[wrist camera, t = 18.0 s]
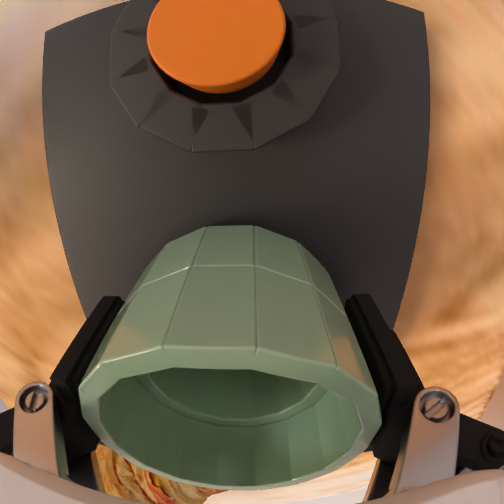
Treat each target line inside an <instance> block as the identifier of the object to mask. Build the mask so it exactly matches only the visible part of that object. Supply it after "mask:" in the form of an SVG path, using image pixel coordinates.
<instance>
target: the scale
mask: <svg viewBox="0 0 504 504" xmlns="http://www.w3.org/2000/svg"><path fill="white" fill-rule="evenodd" d="M159 1H160V0H130V1H127V2H124V3H120V4H117V5H113V6H110V7H107V8H104V9H101V10H98V11H95V12H92V13H89V14H86V15H84V16H81V17H79V18H76V19H73V20H71V21H69V22H66V23H64V24H61V25H59V26H57V27H55V28H53V29H50V30H48V31H46V32H45V41H44V54H43V77H42V101H43V125H44V138H45V149H46V158H47V166H48V173H49V180H50V186H51V192H52V198H53V203H54V208H55V213H56V218H57V222H58V227H59V231H60V235H61V239H62V243H63V247H64V251H65V255H66V258H67V262H68V265H69V269H70V272H71V275H72V278H73V282H74V285H75V288H76V291H77V294H78V297H79V300H80V302H81V305H82V308H83V311H84V314H85V316H86V319H88V317H89V316H90V314H91V313H92V311H93V310H94V308H95V307H96V306H97V304H98V303H99V301H100V300H101V299H102V297H103V296H119V297H121V299H122V300H124V301H125V300H126V299H127V297H128V295H129V294H130V292H131V291H132V289H133V287H134V286H135V284H136V282H137V281H138V279H139V277H140V276H141V274H142V273H143V271H144V270H145V269H146V267H147V266H148V265H149V264H150V263H151V261H152V260H153V259H154V258H155V257H156V255H157V254H158V253H159V252H160V251H161V250H162V248H163V247H164V246H165V245H167V244H168V243H169V242H171V241H174V240H176V239H178V238H180V237H182V236H185V235H187V234H189V233H191V232H194V231H196V230H198V229H201V228H203V227H208V226H239V225H252V226H258V227H261V228H264V229H266V230H269V231H272V232H274V233H277V234H280V235H282V236H285V237H288V238H290V239H293V240H296V241H297V243H300V244H301V245H302V246H303V247H304V248H305V249H307V250H308V251H309V252H310V253H311V254H312V255H313V256H314V257H315V258H316V259H317V260H318V261H319V262H320V263H321V264H322V265H323V266H324V267H325V268H326V270H327V271H328V273H329V275H330V278H331V280H332V282H333V284H334V287H335V289H336V291H337V293H338V296H339V298H340V300H341V303H342V305H343V307H344V306H345V302H346V299H350V298H351V296H352V295H353V294H366V293H368V294H370V295H371V297H372V299H373V300H374V302H375V304H376V305H377V307H378V309H379V311H380V312H381V314H382V316H383V318H384V320H385V321H386V323H387V325H388V327H389V328H390V330H393V328H394V325H395V321H396V318H397V315H398V312H399V308H400V305H401V301H402V298H403V294H404V290H405V287H406V283H407V279H408V275H409V271H410V266H411V262H412V258H413V253H414V248H415V243H416V238H417V233H418V228H419V222H420V216H421V210H422V203H423V196H424V189H425V180H426V171H427V161H428V148H429V130H430V73H429V56H428V44H427V34H426V26H425V19H424V13H423V12H421V11H419V10H416V9H413V8H409V7H406V6H403V5H400V4H396V3H393V2H389V1H385V0H279V2H280V4H281V6H282V8H283V11H284V14H285V20H286V31H285V36H284V40H283V43H282V45H281V48H280V50H279V53H278V55H277V58H276V60H275V62H274V64H273V66H272V67H271V68H270V70H269V71H268V72H267V73H266V74H265V75H264V76H263V77H262V78H261V79H260V80H258V81H257V82H255V83H254V84H252V85H250V86H248V87H246V88H244V89H241V90H238V91H234V92H230V93H207V92H203V91H199V90H196V89H194V88H192V87H190V86H188V85H186V84H184V83H182V82H180V81H178V80H176V79H174V78H172V77H171V76H169V75H168V74H166V73H165V72H164V71H163V70H162V69H161V68H160V67H159V66H158V65H157V64H156V62H155V61H154V59H153V57H152V56H151V53H150V51H149V48H148V43H147V28H148V24H149V20H150V17H151V15H152V12H153V10H154V9H155V7H156V5H157V4H158V3H159Z"/></svg>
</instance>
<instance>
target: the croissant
mask: <svg viewBox="0 0 504 504" xmlns="http://www.w3.org/2000/svg"><path fill="white" fill-rule="evenodd" d="M96 455H97V459H98V464H99V468H100V472H101V476H102V480H103V484H104V488H105V491H106V494H109V495H113V496H116V497H120V498H124V499H128V500H132V501H136V502H141V503H145V504H203V503H204V502H205V501H206V499H207V497H209V496H210V495H212V494H216V493H221V492H224V491H228V490H220V489H211V488H205V487H200V486H195V485H190V484H185V483H181V482H176V481H174V480H170V479H167V478H165V477H162V476H159V475H157V474H154V473H152V472H150V471H147V470H145V469H142V468H140V467H138V466H136V465H134V464H132V463H131V462H129V461H128V460H126V459H125V458H123V457H122V456H120V455H119V454H117V453H116V452H115V451H113V450H112V449H110V448H109V447H108V446H104V445H100V444H98V446H97V449H96Z"/></svg>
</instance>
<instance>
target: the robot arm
mask: <svg viewBox="0 0 504 504" xmlns="http://www.w3.org/2000/svg"><path fill="white" fill-rule="evenodd" d="M124 302H125V301H124V300H122V299H121V297H119V296H103V297H102V299H101V300H100V301H99V303H98V304H97V306H96V307H95V308H94V310H93V311H92V313H91V314H90V316H89V317H88V319H87V320H86V322H85V323H84V325H83V326H82V328H81V329H80V331H79V332H78V334H77V335H76V337H75V338H74V340H73V341H72V343H71V344H70V346H69V347H68V349H67V351H66V352H65V354H64V355H63V357H62V359H61V360H60V362H59V364H58V365H57V367H56V368H55V370H54V372H53V373H52V375H51V377H50V379H51V382H50V384H49V385H48V384H46V383H45V382H41V381H34V382H31V383H28V384H27V385H25V386H24V387H23V388H22V389H21V390H20V391H19V393H18V394H17V396H16V400H15V407H14V408H12V409H9V410H7V411H5V412H2V413H0V504H145V503H141V502H136V501H132V500H128V499H124V498H120V497H116V496H113V495H109V494H106V491H105V488H104V484H103V480H102V476H101V472H100V468H99V464H98V459H97V455H96V449H97V446H98V444H100V445H104V446H106V445H105V444H104V443H103V442H102V441H101V440H100V439H99V437H98V436H97V435H96V434H95V433H94V431H93V430H92V429H91V428H90V426H89V425H88V424H87V422H86V421H85V420H84V418H83V416H82V411H81V405H80V398H79V390H78V388H79V385H80V383H81V381H82V379H83V377H84V375H85V373H86V371H87V369H88V367H89V365H90V363H91V361H92V359H93V357H94V355H95V354H96V352H97V350H98V348H99V346H100V344H101V342H102V341H103V339H104V337H105V335H106V333H107V332H108V330H109V328H110V326H111V324H112V323H113V321H114V319H115V318H116V316H117V314H118V312H119V311H120V309H121V307H122V306H123V304H124ZM344 310H345V312H346V314H347V317H348V320H349V322H350V324H351V326H352V329H353V331H354V334H355V336H356V339H357V341H358V344H359V346H360V349H361V351H362V354H363V356H364V359H365V361H366V364H367V367H368V369H369V372H370V375H371V377H372V380H373V383H374V385H375V388H376V391H377V394H378V398H379V404H380V409H381V415H382V425H381V427H380V429H379V430H378V432H377V433H376V435H375V437H374V438H373V440H372V441H371V443H370V444H369V446H368V447H367V449H365V451H363V452H367V451H373V454H374V457H376V458H377V461H376V465H375V468H374V471H373V474H372V477H371V480H370V483H369V486H368V489H367V491H366V494H365V497H364V499H363V502H362V503H357V504H504V431H502V430H500V429H498V428H495V427H493V426H490V425H488V424H485V423H483V422H480V421H478V420H475V419H473V418H471V417H468V416H466V415H463V414H461V413H460V408H459V403H458V401H457V399H456V397H455V396H454V395H453V394H452V393H451V392H450V391H448V390H446V389H444V388H441V387H428V388H424V386H423V384H422V382H421V380H420V378H419V376H418V374H417V372H416V370H415V368H414V366H413V364H412V363H411V361H410V359H409V357H408V355H407V353H406V351H405V349H404V348H403V346H402V344H401V342H400V340H399V338H398V337H397V335H396V333H395V332H394V331H393V330H390V328H389V327H388V325H387V323H386V321H385V320H384V318H383V316H382V314H381V312H380V311H379V309H378V307H377V305H376V304H375V302H374V300H373V299H372V297H371V295H370V294H368V293H366V294H353V295H352V296H351V298H350V299H346V302H345V306H344Z"/></svg>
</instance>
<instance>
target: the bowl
mask: <svg viewBox="0 0 504 504" xmlns="http://www.w3.org/2000/svg"><path fill="white" fill-rule="evenodd" d="M78 390H79V398H80V405H81V411H82V416H83V418H84V420H85V421H86V422H87V424H88V425H89V426H90V428H91V429H92V430H93V431H94V433H95V434H96V435H97V436H98V437H99V439H100V440H101V441H102V442H103V443H104V444H105V445H106V446H108V447H109V448H110V449H112V450H113V451H115V452H116V453H117V454H119V455H120V456H122V457H123V458H125V459H126V460H128V461H129V462H131V463H132V464H134V465H136V466H138V467H140V468H142V469H145V470H147V471H150V472H152V473H154V474H157V475H159V476H162V477H165V478H167V479H170V480H174V481H176V482H181V483H185V484H190V485H195V486H200V487H205V488H211V489H220V490H263V489H271V488H278V487H284V486H290V485H295V484H299V483H303V482H306V481H309V480H311V479H314V478H317V477H320V476H322V475H325V474H328V473H330V472H333V471H335V470H337V469H339V468H340V467H342V466H343V465H345V464H346V463H348V462H349V461H351V460H352V459H354V458H355V457H356V456H358V455H359V454H361V453H362V452H363V451H365V449H367V447H368V446H369V444H370V443H371V441H372V440H373V438H374V437H375V435H376V433H377V432H378V430H379V429H380V427H381V425H382V415H381V409H380V404H379V398H378V394H377V391H376V388H375V385H374V383H373V380H372V377H371V375H370V372H369V369H368V367H367V364H366V361H365V359H364V356H363V354H362V351H361V349H360V346H359V344H358V341H357V339H356V336H355V334H354V331H353V329H352V326H351V324H350V322H349V320H348V317H347V314H346V312H345V310H344V307H343V305H342V303H341V300H340V298H339V296H338V293H337V291H336V289H335V287H334V284H333V282H332V280H331V278H330V275H329V273H328V271H327V270H326V268H325V267H324V266H323V265H322V264H321V263H320V262H319V261H318V260H317V259H316V258H315V257H314V256H313V255H312V254H311V253H310V252H309V251H308V250H307V249H305V248H304V247H303V246H302V245H301V244H300V243H297V241H296V240H293V239H290V238H288V237H285V236H282V235H280V234H277V233H274V232H272V231H269V230H266V229H264V228H261V227H258V226H252V225H239V226H208V227H203V228H201V229H198V230H196V231H194V232H191V233H189V234H187V235H185V236H182V237H180V238H178V239H176V240H174V241H171V242H169V243H168V244H167V245H165V246H164V247H163V248H162V250H161V251H160V252H159V253H158V254H157V255H156V257H155V258H154V259H153V260H152V261H151V263H150V264H149V265H148V266H147V267H146V269H145V270H144V271H143V273H142V274H141V276H140V277H139V279H138V281H137V282H136V284H135V286H134V287H133V289H132V291H131V292H130V294H129V295H128V297H127V299H126V300H125V302H124V304H123V306H122V307H121V309H120V311H119V312H118V314H117V316H116V318H115V319H114V321H113V323H112V324H111V326H110V328H109V330H108V332H107V333H106V335H105V337H104V339H103V341H102V342H101V344H100V346H99V348H98V350H97V352H96V354H95V355H94V357H93V359H92V361H91V363H90V365H89V367H88V369H87V371H86V373H85V375H84V377H83V379H82V381H81V383H80V385H79V388H78Z"/></svg>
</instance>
